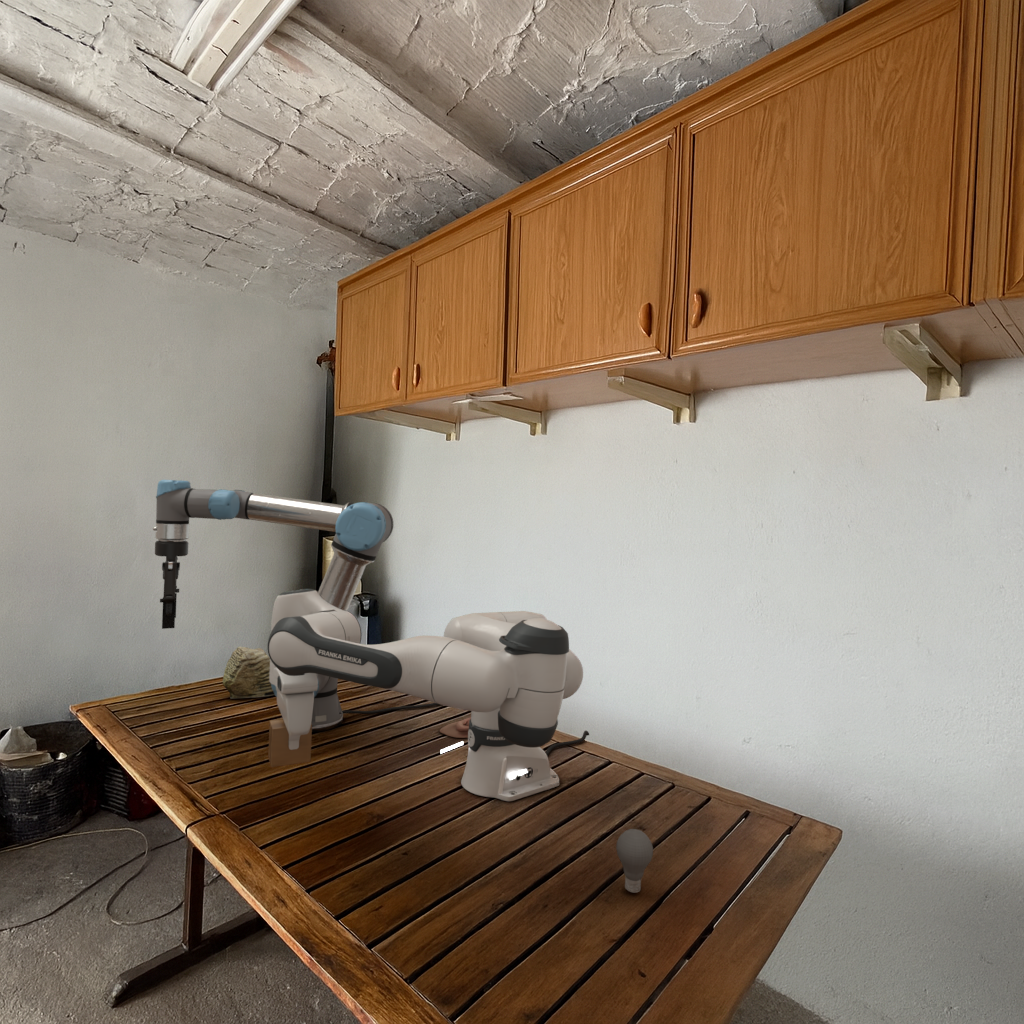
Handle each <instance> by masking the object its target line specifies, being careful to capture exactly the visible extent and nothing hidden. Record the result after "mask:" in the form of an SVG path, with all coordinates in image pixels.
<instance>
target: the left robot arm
mask: <svg viewBox="0 0 1024 1024" xmlns="http://www.w3.org/2000/svg"><path fill="white" fill-rule="evenodd" d="M155 499H156V510H155V511H156V517H155V519H156V520H155V525H156V526H153V527H152V531H155V539H156V541H155V542H154V555H155V556H158V557H166V558H165V561H163V562H162V564H161V571H162V579H163V595H162V598H159V603H162V613H161V615H162V617H161V629H163V630H165V629H166V630H167V629H175V628H176V627H175V624H176V618H177V595H178V594H177V593H180V588H178V586H177V580H178V579H179V571H180V569H181V562H180V561H178V560H179V558H178V557H186V556H188V554H189V542H188V539H189V538H190V519H210V520H211V519H212V520H220V521H222V520H233V519H241V520H248V521H249V520H250V521H257V522H264V523H272V524H279V525H284V526H285V525H286V526H291V527H292V526H293V527H299V528H304V529H305V528H306V529H311V530H313V529H314V530H320V531H325V532H326V531H327V532H333V533H335V535H334V537H333V538H332V542H331V544H330V547H331V549H332V552H333V555H332V558H331V560H330V562H329V564H328V567H327V569H326V572H325V574H324V576H323V579H322V581H321V584H320V586H319V588H318V590H317V592H318V593H319V595H320V596H321V598H322V599H323V600H325V601H326V602H328V603H329V604H331V605H333V606H335V607H337V608H339V609H341V610H346V611H348V610H349V608H350V605H351V604H352V603H351V602H352V600H353V598H354V596H355V593H356V590H357V588H358V586H359V584H360V581H361V579H362V577H363V574H364V572H365V569H366V566H368V565H370V564H373V563H374V562H375V560H376V558H377V556H378V553H379V551H380V549H381V546H382V544H383V543H384V542H386V541H387V540H388V539H389V538H390V537H391V536H392V533H393V530H394V518H393V515H392V513H391V512H390V511H389V510H388V508H386V507H385V505H382V504H380V503H378V502H367V501H361V502H347V503H345V504H336V503H330V502H324V501H323V502H322V501H315V500H309V499H302V498H294V497H286V496H280V495H272V494H264V493H259V492H250V491H245V490H243V489H233V490H232V489H211V488H194V487H193V488H192V486H191V482H190V481H189V480H182V479H181V480H179V479H178V480H177V479H161V480H159V481H158V483H157V489H156V496H155ZM317 679H318V689H317V691H313V692H314V703H313V713H312V721H311V724H312V733H316V732H325V731H329V730H332V729H335V728H337V727H339V726H340V725H342V723H343V722H344V714H349V715H350V714H351V715H352V714H353V715H355V714H357V715H358V714H359V715H372V714H373V715H374V714H380V713H386V712H390V711H398V710H399V711H400V710H409V709H412V710H413V709H422V708H429V707H435V706H442V705H441V704H438V703H435V702H431V703H425V704H417V705H416V704H415V705H402V706H401V705H400V706H393V707H387V708H381V709H377V710H376V709H375V710H347V709H346V710H344V709H342V706H341V702H340V699H339V695H338V682H339V679H337V678H333V677H329V676H325V675H321V674H317ZM271 687H272V690H273V692H274V694H275V695H274V696H275V697H276V698H277V691H276V686H275V685H273V684H271Z"/></svg>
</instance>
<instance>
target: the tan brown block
mask: <svg viewBox="0 0 1024 1024" xmlns="http://www.w3.org/2000/svg"><path fill="white" fill-rule="evenodd" d="M268 732H269V733H268V755H267V757H268V761H269V764H270V767H271V768H275V767H276V768H277V767H282V766H290V765H297V764H304V763H311V760H312V739H313V738H312V735H313V732H312V724H311V727H310V731H309V733H308V734H305V735H300V739H299V748H298V749H293V750H290V749H289V746H288V738H289V733H288V730H287V728H286V725H285V723H284V720H283V718H281V719H271V720H269V731H268Z"/></svg>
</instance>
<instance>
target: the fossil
mask: <svg viewBox="0 0 1024 1024" xmlns="http://www.w3.org/2000/svg"><path fill="white" fill-rule="evenodd" d="M269 675H270V657H269V654H268V653H266V652H265V650H264V649H263V648H260V647H258V648H251V647H247V646H246V647H245V646H238V647H237V648H236V649H235V650H233V651H232V653H231V656H230V657H229V659H228V660H227V663H226V666H225V668H224V671H223V675H222V676H223V677H222V685H223V687H224V688H225V690H226V691H228V693H229V698H230V699H250V698H264V697H271V696H275V694H274V692H273V690H272V687H271V683H270V682H269Z"/></svg>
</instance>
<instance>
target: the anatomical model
mask: <svg viewBox="0 0 1024 1024" xmlns="http://www.w3.org/2000/svg"><path fill="white" fill-rule="evenodd" d="M470 719H471V716H470V717H467V718H464V719H461V720H458V721H456V722H451V723H448V724H446V725H444V726H442V727H441V728H440V729H439V733H441V734H442V735H445V736H448V737H452V738H456V739H465V738H466V739H468V730H469V720H470Z"/></svg>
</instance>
